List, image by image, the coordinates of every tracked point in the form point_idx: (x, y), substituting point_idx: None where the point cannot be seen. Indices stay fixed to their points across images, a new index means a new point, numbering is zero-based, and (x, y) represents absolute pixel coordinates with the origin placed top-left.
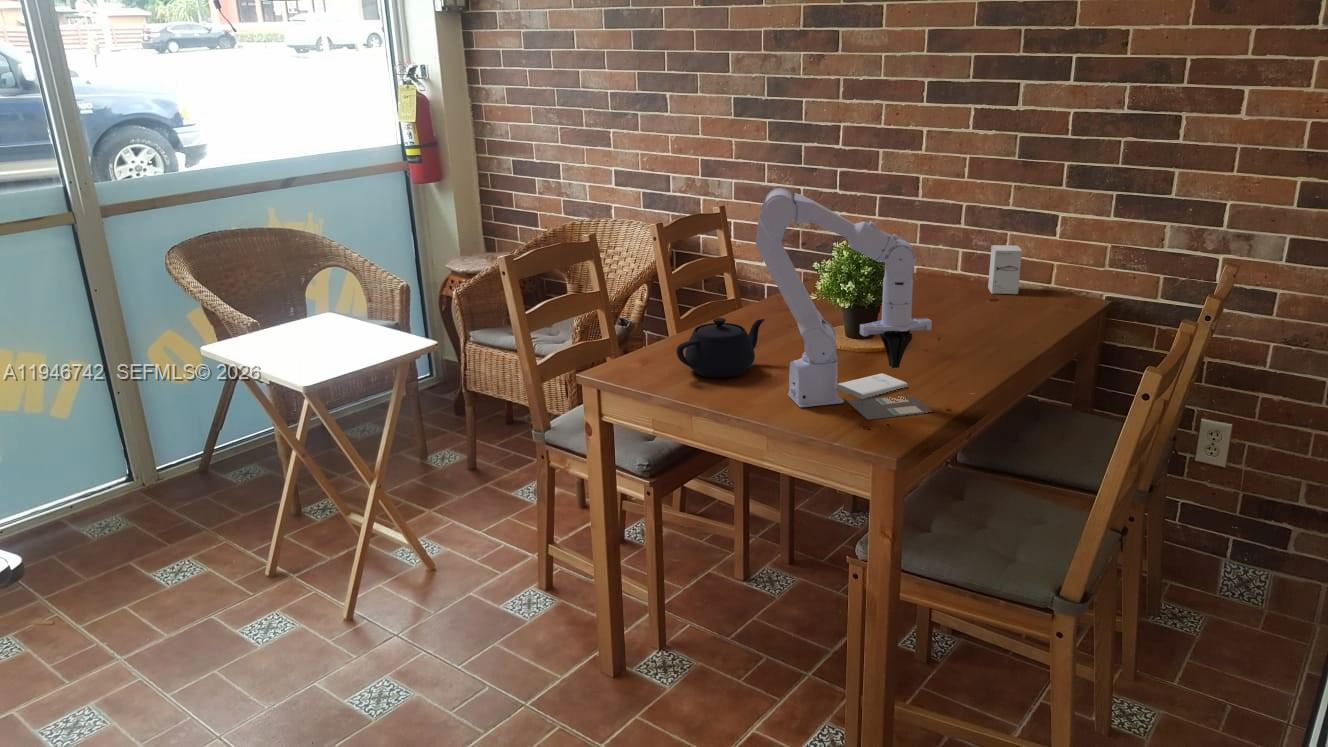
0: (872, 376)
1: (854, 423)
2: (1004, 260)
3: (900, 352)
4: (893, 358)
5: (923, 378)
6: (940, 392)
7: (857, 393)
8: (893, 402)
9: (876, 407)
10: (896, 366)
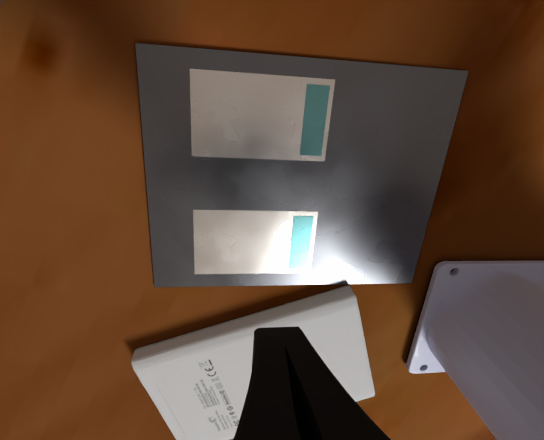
0: (231, 432)
1: (535, 52)
2: None
3: (281, 423)
4: (331, 375)
5: (36, 411)
6: (10, 276)
7: (358, 316)
8: (264, 219)
9: (355, 189)
10: (279, 331)
